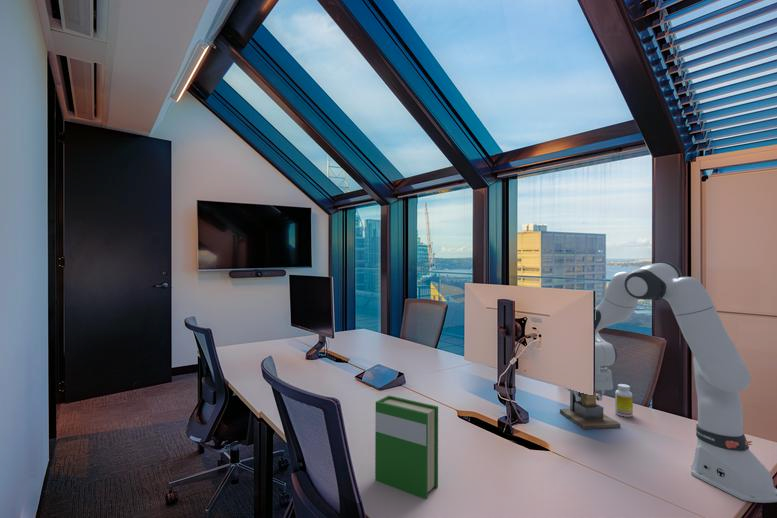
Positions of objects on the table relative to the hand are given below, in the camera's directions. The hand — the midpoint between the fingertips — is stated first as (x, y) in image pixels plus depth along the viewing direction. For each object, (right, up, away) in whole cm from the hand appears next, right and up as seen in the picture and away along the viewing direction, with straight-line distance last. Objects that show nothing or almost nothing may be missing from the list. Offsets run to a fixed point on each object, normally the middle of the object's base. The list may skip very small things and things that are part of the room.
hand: (588, 400), depth 172 cm
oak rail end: (0, -7, 0) cm, 7 cm away
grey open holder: (0, -7, +2) cm, 7 cm away
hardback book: (-80, -8, -50) cm, 95 cm away
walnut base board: (0, -8, 0) cm, 8 cm away
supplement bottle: (+18, -8, +6) cm, 21 cm away
